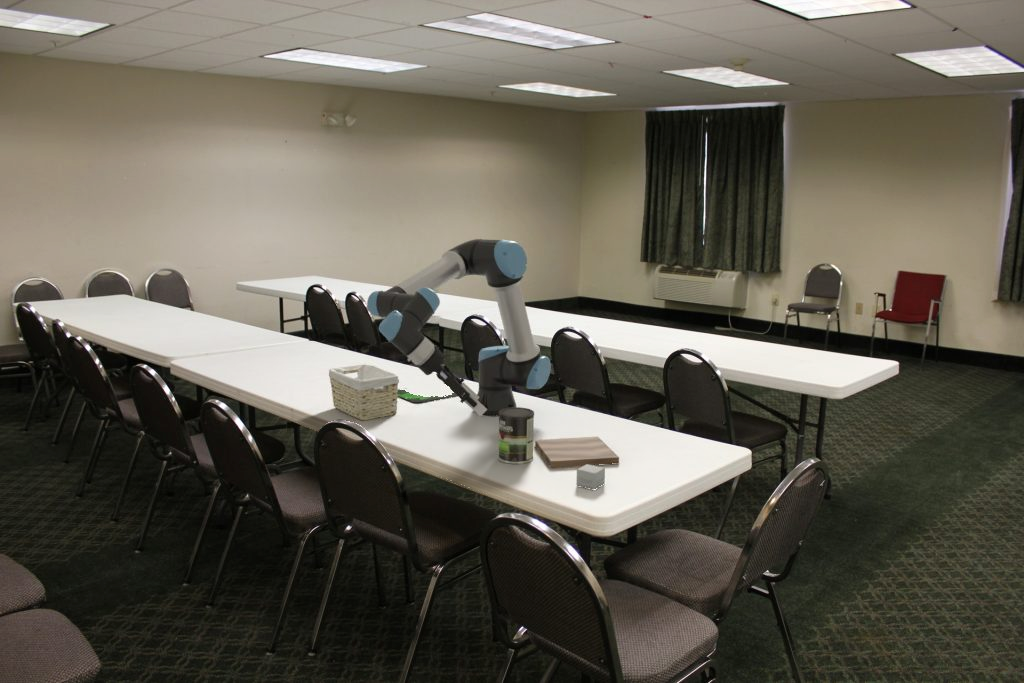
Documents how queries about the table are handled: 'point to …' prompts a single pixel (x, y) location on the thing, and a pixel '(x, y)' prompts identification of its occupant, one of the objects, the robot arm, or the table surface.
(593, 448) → the walnut board
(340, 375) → the storage basket
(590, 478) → the small box
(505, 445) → the coffee can
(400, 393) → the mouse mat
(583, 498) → the table surface
